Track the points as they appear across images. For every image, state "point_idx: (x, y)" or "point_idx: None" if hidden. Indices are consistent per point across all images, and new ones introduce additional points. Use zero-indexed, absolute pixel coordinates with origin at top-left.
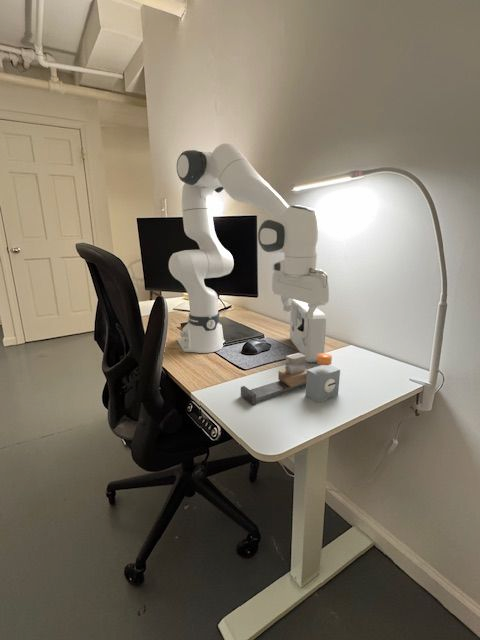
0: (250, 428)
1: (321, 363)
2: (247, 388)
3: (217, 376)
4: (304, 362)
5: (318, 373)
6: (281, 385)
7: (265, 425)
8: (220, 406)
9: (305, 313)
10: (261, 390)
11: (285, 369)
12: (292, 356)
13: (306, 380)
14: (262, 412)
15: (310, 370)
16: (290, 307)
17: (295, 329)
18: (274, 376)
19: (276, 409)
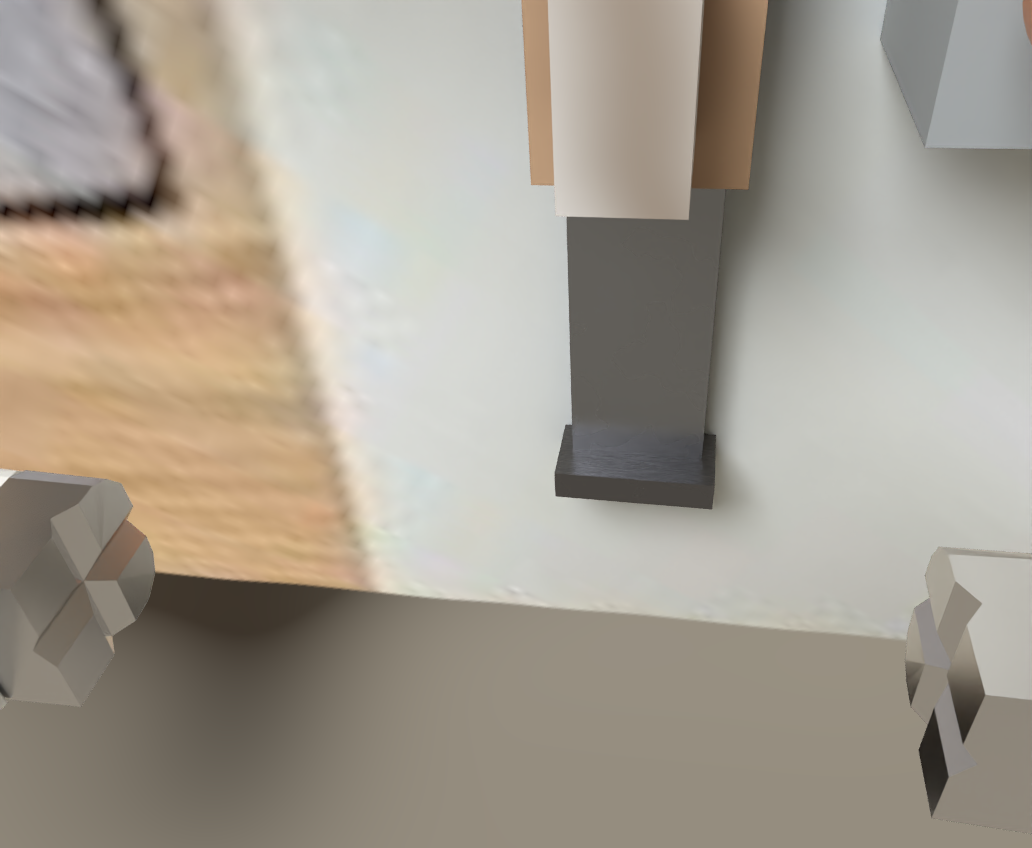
0: (904, 582)
1: None
2: (603, 479)
3: (224, 412)
4: None
5: None
6: None
7: (948, 521)
8: (606, 573)
9: (949, 784)
10: (628, 363)
11: (544, 103)
12: (617, 162)
13: (906, 94)
14: (824, 458)
15: (976, 126)
16: (59, 560)
17: None
18: (389, 41)
19: (864, 377)
